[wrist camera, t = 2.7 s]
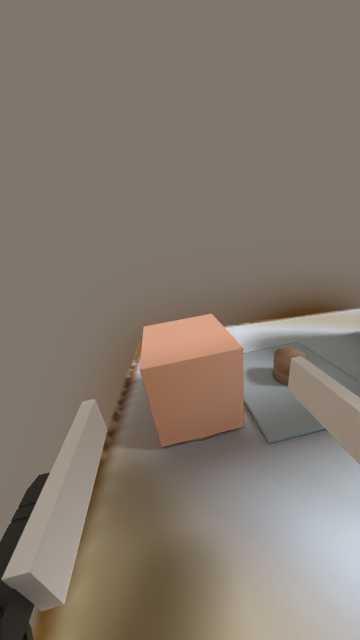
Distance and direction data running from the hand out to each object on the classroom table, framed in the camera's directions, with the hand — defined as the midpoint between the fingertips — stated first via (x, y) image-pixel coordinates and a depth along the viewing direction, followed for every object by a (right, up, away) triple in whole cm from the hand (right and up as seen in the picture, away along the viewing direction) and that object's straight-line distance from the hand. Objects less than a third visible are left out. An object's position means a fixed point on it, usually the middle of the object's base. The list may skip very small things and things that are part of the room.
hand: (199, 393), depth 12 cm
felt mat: (+15, -4, +16) cm, 22 cm away
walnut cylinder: (+15, -4, +16) cm, 22 cm away
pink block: (+1, -7, +14) cm, 15 cm away
